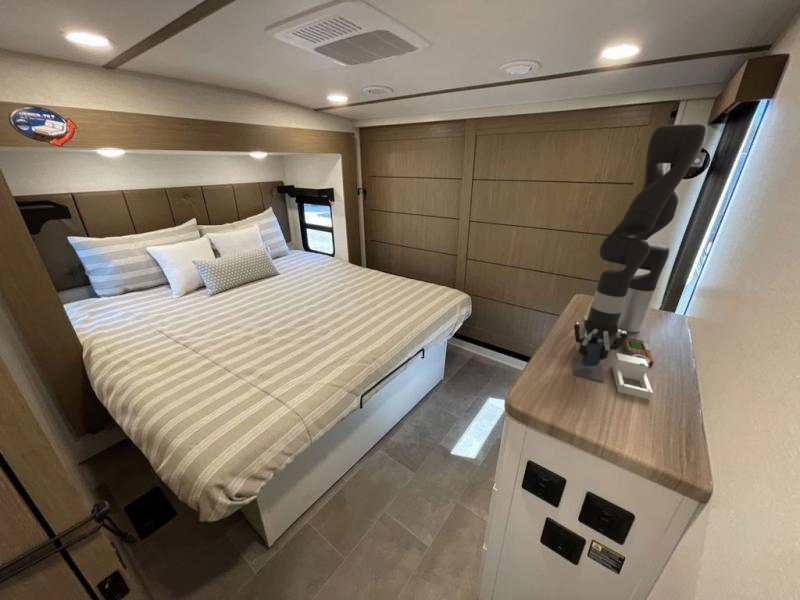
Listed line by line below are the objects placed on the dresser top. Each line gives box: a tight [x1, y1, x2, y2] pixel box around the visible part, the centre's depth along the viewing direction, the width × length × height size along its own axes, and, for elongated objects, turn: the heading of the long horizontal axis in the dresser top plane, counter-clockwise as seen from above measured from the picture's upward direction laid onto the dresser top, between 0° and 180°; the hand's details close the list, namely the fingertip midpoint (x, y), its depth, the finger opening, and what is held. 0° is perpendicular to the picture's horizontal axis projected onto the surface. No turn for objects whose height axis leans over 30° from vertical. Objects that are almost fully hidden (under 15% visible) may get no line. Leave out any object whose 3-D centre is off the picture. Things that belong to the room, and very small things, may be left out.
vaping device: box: [581, 333, 604, 366], centre depth 93 cm, size 3×5×12 cm, turn 95°
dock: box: [611, 352, 654, 401], centre depth 94 cm, size 24×8×5 cm, turn 153°
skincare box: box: [575, 314, 602, 352], centre depth 104 cm, size 6×4×12 cm
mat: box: [572, 356, 605, 383], centre depth 96 cm, size 10×8×1 cm
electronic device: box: [621, 337, 655, 367], centre depth 103 cm, size 7×3×15 cm
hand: (591, 356), depth 94 cm, fingers closed on vaping device, 4 cm apart
